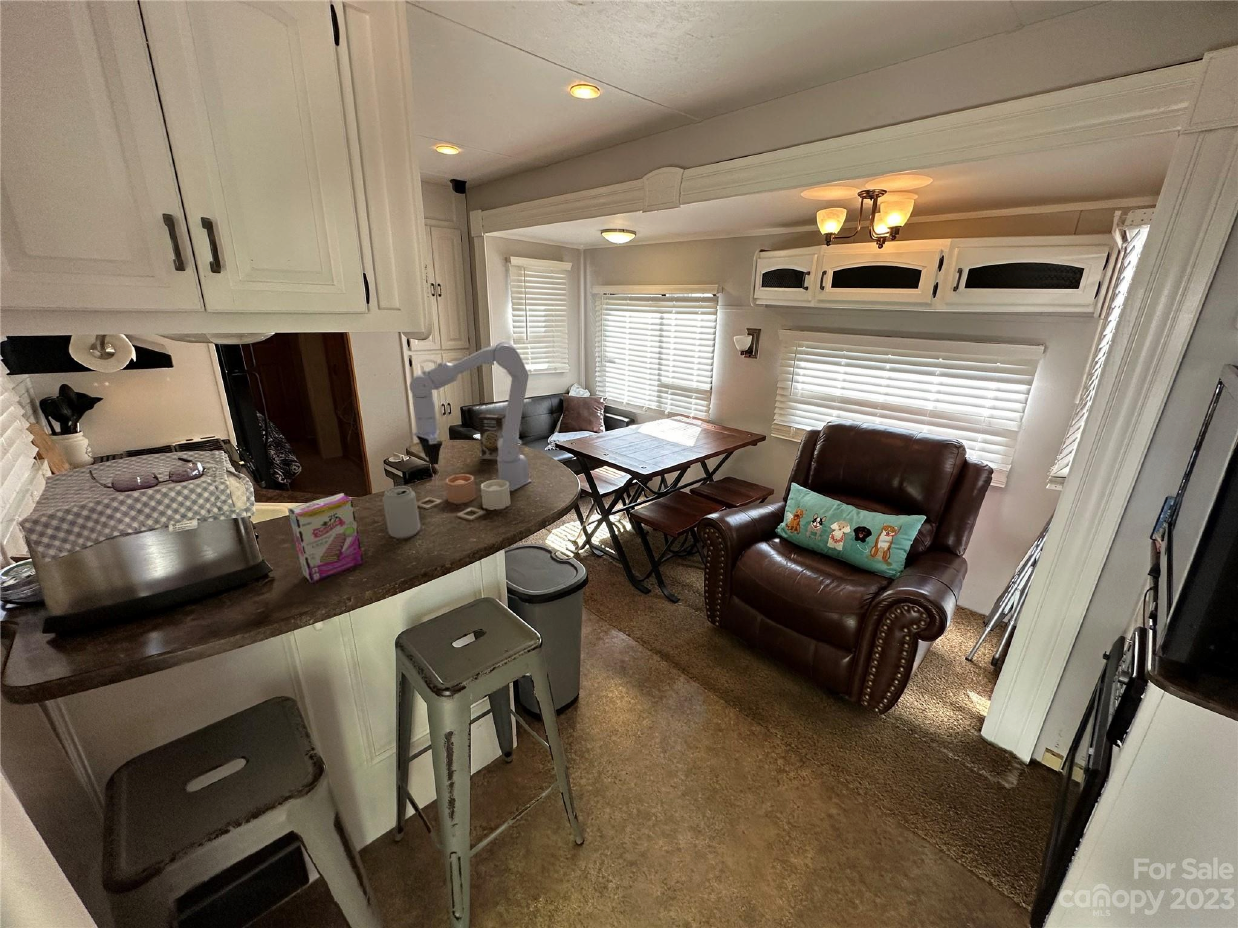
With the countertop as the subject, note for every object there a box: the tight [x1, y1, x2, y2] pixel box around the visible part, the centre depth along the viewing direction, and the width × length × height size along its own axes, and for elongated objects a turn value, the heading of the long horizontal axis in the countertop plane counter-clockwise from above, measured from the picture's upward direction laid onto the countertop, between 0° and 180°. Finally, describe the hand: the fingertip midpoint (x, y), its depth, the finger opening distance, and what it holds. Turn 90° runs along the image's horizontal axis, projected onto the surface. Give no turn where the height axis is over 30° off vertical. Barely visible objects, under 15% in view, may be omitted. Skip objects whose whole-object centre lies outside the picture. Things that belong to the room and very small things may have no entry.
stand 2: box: [456, 507, 486, 522], centre depth 133 cm, size 5×5×1 cm
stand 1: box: [416, 496, 444, 510], centre depth 139 cm, size 5×5×1 cm
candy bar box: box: [287, 492, 364, 584], centre depth 104 cm, size 11×5×16 cm, turn 140°
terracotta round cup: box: [445, 473, 476, 504], centre depth 143 cm, size 8×8×6 cm
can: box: [382, 485, 421, 539], centre depth 121 cm, size 8×8×12 cm
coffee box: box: [477, 412, 506, 460], centre depth 176 cm, size 9×6×16 cm
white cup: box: [480, 479, 512, 511], centre depth 139 cm, size 8×8×6 cm
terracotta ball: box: [453, 480, 465, 484], centre depth 143 cm, size 5×5×5 cm
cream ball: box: [489, 486, 501, 490], centre depth 139 cm, size 5×5×5 cm
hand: (431, 460), depth 144 cm, fingers open, 7 cm apart
